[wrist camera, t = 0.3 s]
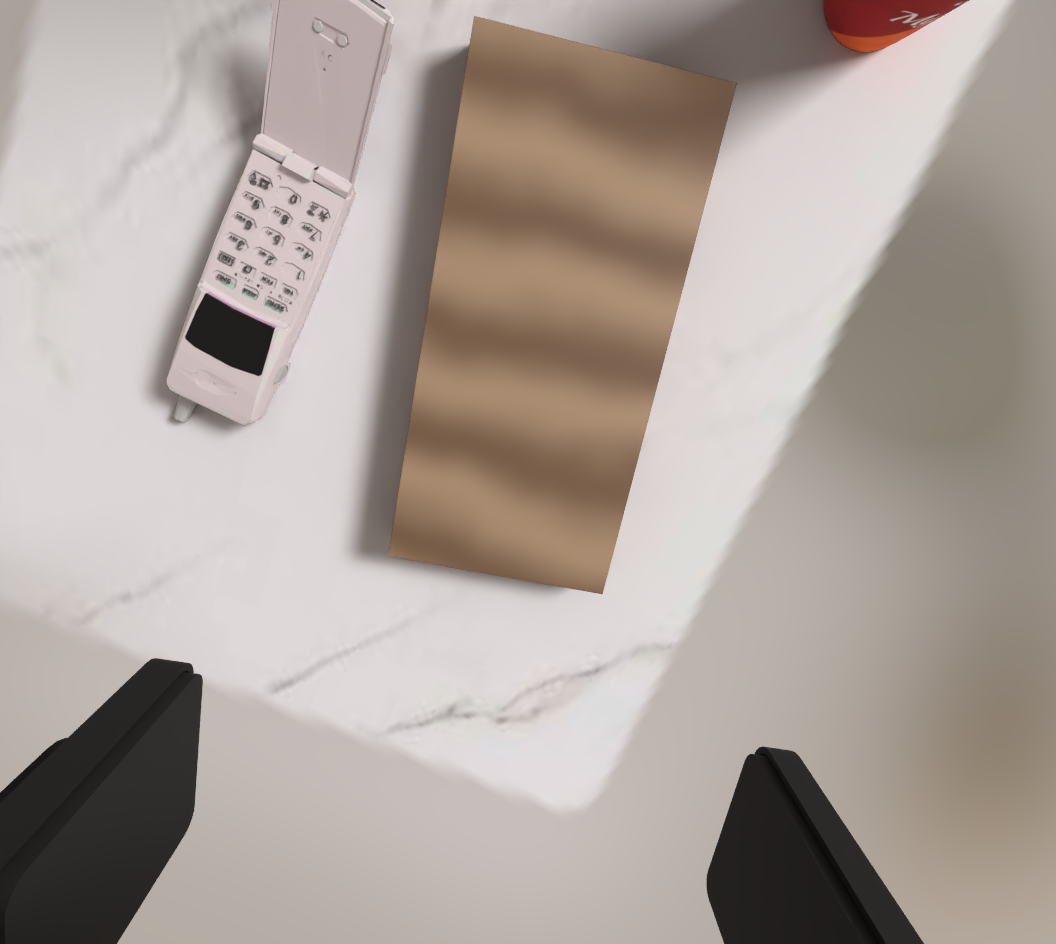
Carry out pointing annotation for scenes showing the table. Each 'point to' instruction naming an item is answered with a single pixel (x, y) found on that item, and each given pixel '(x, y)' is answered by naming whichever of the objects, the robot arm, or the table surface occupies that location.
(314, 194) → the mobile phone
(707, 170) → the walnut stand
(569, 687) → the table surface
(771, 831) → the robot arm
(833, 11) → the paper cup
